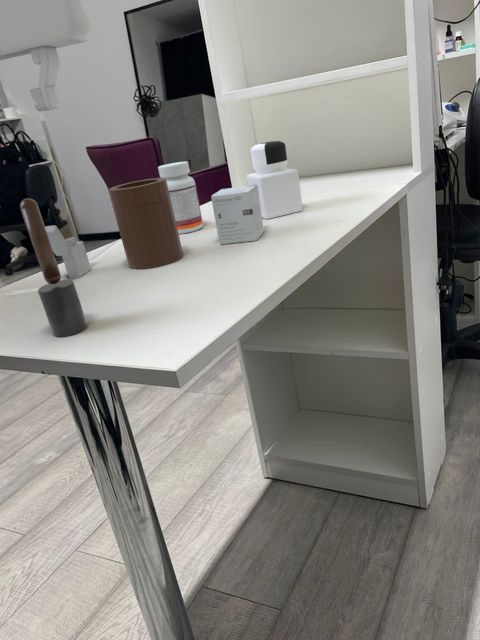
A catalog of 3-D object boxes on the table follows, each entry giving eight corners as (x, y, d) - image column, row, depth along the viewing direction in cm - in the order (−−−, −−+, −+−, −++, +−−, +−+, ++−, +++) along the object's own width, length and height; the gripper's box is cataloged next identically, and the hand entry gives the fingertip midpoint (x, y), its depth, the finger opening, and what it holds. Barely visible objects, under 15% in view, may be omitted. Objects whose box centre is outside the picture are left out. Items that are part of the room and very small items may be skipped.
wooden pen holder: (121, 272, 76) (99, 193, 72) (139, 256, 84) (120, 183, 79) (175, 265, 75) (156, 184, 71) (188, 249, 82) (172, 175, 78)
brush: (47, 338, 56) (-1, 204, 50) (62, 325, 59) (19, 197, 54) (79, 335, 55) (34, 199, 50) (92, 321, 59) (52, 192, 53)
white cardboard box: (219, 245, 82) (209, 195, 79) (228, 235, 87) (219, 188, 84) (258, 240, 80) (249, 190, 77) (265, 230, 86) (257, 183, 82)
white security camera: (287, 206, 101) (278, 138, 96) (303, 210, 95) (294, 138, 90) (252, 214, 99) (240, 146, 94) (266, 219, 93) (254, 146, 88)
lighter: (81, 270, 81) (64, 217, 78) (91, 268, 81) (75, 215, 78) (58, 285, 75) (39, 228, 72) (70, 284, 75) (51, 227, 72)
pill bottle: (174, 228, 100) (160, 164, 95) (207, 223, 99) (193, 159, 94) (166, 236, 94) (150, 169, 89) (200, 231, 93) (186, 163, 88)
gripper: (74, -87, 44) (121, 97, 50) (-139, -31, 48) (-73, 135, 53) (36, -113, 38) (94, 98, 44) (-203, -47, 42) (-121, 141, 48)
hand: (1, 119), depth 49 cm, fingers open, 8 cm apart
